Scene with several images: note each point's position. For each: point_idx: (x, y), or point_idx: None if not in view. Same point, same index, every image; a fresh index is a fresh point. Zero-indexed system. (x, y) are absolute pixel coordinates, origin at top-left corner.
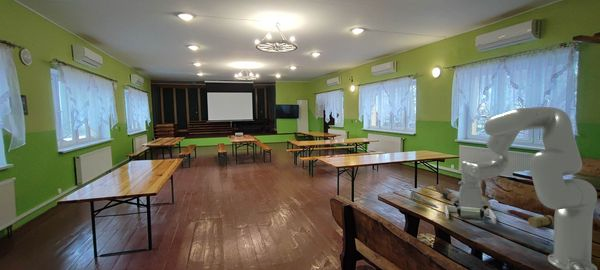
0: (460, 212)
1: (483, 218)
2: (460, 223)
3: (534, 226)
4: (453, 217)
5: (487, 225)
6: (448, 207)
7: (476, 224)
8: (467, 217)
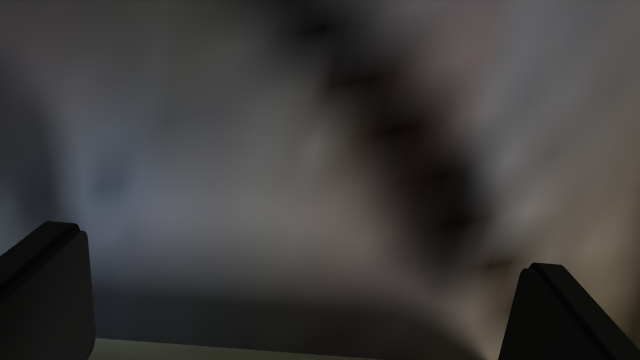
0: (579, 327)
1: None
2: (573, 16)
3: None
4: None
5: (15, 13)
6: None
7: (235, 27)
8: (330, 358)
